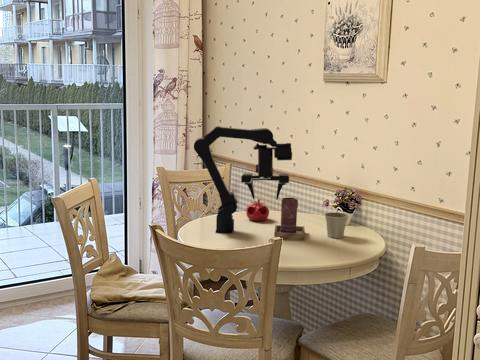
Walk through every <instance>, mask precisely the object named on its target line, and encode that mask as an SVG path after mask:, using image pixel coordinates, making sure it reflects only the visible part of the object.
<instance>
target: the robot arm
mask: <svg viewBox="0 0 480 360" xmlns="http://www.w3.org/2000/svg"><path fill="white" fill-rule="evenodd" d="M219 138H228V139H240V140H249V141H253V142H255V143H256V144H255V145H254V146H253V147H252V148H253V151H254V150H258V151H257V157H258V159H257V164H255V173H256V174H258V175H253V173H251V172H250V173H248V172H247V173H245V172H244V173H243V174H242V175H241V177H240V179H241V180H240V181H241V183H244V185H246V186H247V187H248V189H249V192H250V194H251V196H252V199H253V200H255V189H254V188H255V186H254V181H276V182H277V181H278V182H277V187H276V189H277V191H276V196H275V197H276V201H277V200H278V199H279V196H280V192H281V190H282V188H283V186H286V184H289V183H290V174H289V173H279V174H278V175H274V164H273V163H274V161H273V159H276V161H292V160H293V152H292V143H291V142H286V143H278V142H277V140H275V139H274V134H273V132H272V130H270V129H269V128H265V127H264V128H254V129H253V128H252V129H247V128H237V127H236V128H235V127H225V126H224V127H223V126H219V125H217V126H215V127H213V129H212V130H210V132H208V133H206V135H204V136H203V137H198V138H197V139H196V140H195V141H194V144H193V150H194V151H195V152H196V154H197V155H198V157H199V158H200V159H201V161H203V163H204V165H205V167H206V170H207V171H208V173H209V176H210V178H211V180H212V182H213V184H214V186H215V188H216V190H217V192H218V195H219V199H220V203H221V205H220V206H219V207H218V208H217V213H216V221H215V222H216V224H215V225H216V230H215V233H223V234H225V233H226V234H232V233H233V231H234V230H235V218H234V216H233V214H235V213H236V211H237V209H238V198H237V197H236V196H235V191H234V190H232V191H231V192H230V190H229V189H228V187H227V185H226V184H225V180H224V179H223V176H222V175H221V173H220V170H219V168H218V166H217V164H216V162H215V159H214V158H213V153H212V150H211V145H212V144H213V143H215V142H216V140H218V139H219ZM268 145H269V146H268ZM270 146H271V147H270Z"/></svg>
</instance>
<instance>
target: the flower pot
mask: <svg viewBox="0 0 480 360" xmlns="http://www.w3.org/2000/svg"><path fill="white" fill-rule="evenodd" d="M323 216H324V217H325V221H326V222H325V223H326V235H327V237H329V238H332V239H333V238H335V239H342V238H343V237H344V234H345V230H346V225H347V221H348V218H349V214H347V213H342V212H335V211H333V212H332V211H331V212H325V213H324V215H323Z"/></svg>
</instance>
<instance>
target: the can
mask: <svg viewBox="0 0 480 360" xmlns="http://www.w3.org/2000/svg"><path fill="white" fill-rule="evenodd" d="M280 207H281V209H280V210H281V211H280V225H281V233H296V226H297V222H298V221H297V218H298V217H297V215H298V208H299V200H298V198H296V197H282V199H281V205H280Z"/></svg>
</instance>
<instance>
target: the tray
mask: <svg viewBox="0 0 480 360" xmlns="http://www.w3.org/2000/svg"><path fill="white" fill-rule="evenodd" d="M273 237H280V238H283V239H282V240H283V241H285V240H286V241H287V240H288V241H306V238H305V237H306V231H305V226H304V225H303V226H301V225H296V233H281V224H280V225H279V224H278V225H277V224H275V226H274V234H273Z"/></svg>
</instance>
